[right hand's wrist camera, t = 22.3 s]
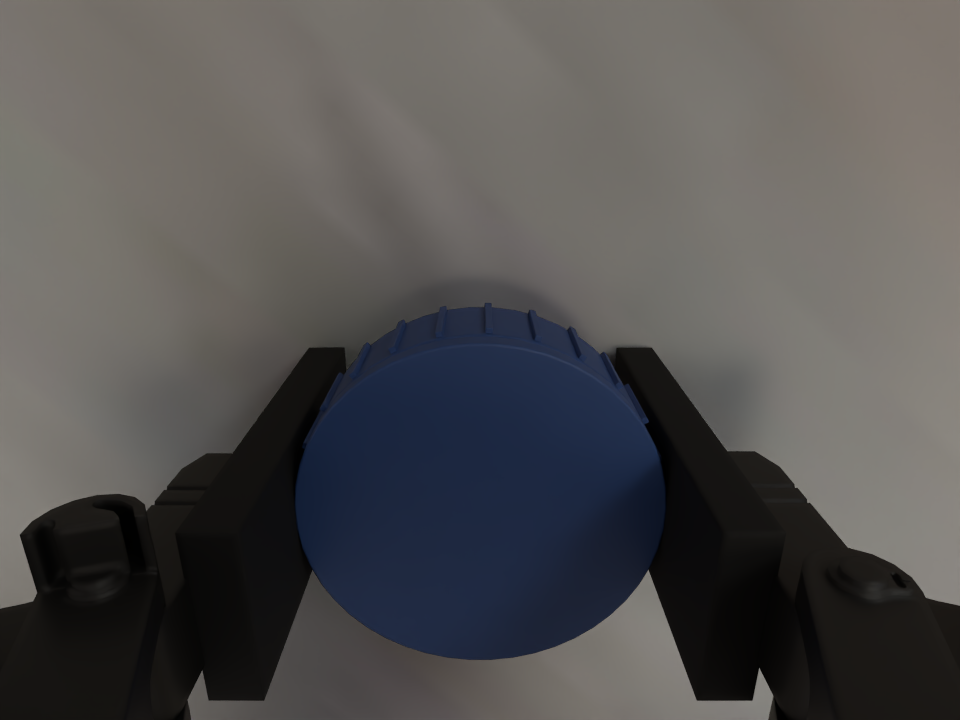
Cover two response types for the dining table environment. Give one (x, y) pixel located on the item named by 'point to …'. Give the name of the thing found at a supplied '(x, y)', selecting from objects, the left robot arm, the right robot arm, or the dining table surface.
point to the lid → (480, 486)
